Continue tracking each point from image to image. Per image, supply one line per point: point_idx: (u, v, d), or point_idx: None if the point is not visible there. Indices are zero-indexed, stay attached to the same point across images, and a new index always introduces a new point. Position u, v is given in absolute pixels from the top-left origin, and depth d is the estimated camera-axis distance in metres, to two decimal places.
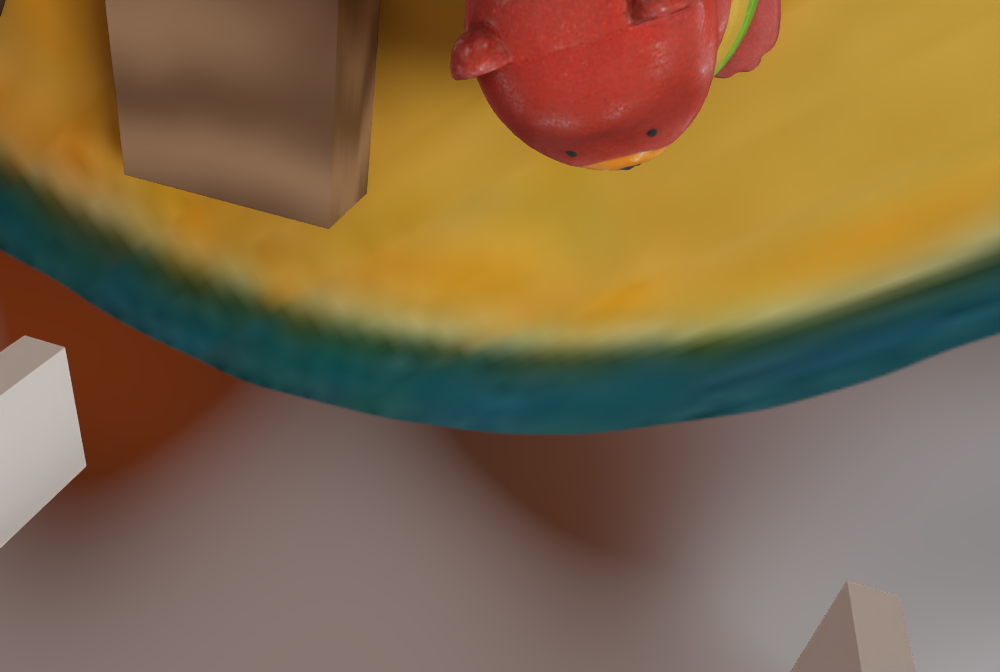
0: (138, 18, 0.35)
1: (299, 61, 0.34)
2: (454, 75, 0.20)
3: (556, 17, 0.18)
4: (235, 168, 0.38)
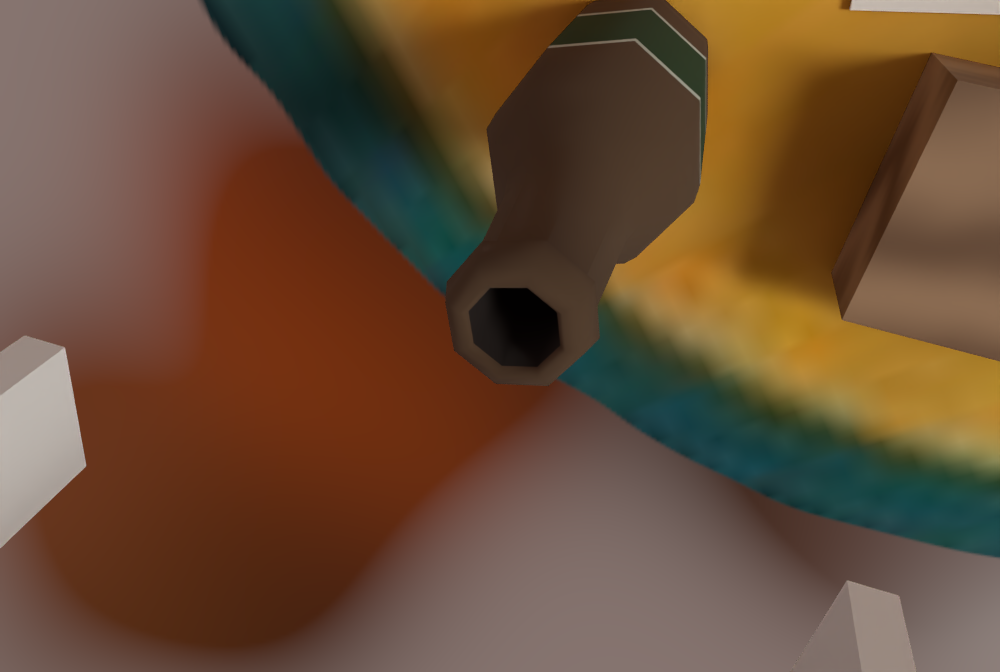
0: (960, 167, 0.31)
1: None
2: None
3: None
4: None
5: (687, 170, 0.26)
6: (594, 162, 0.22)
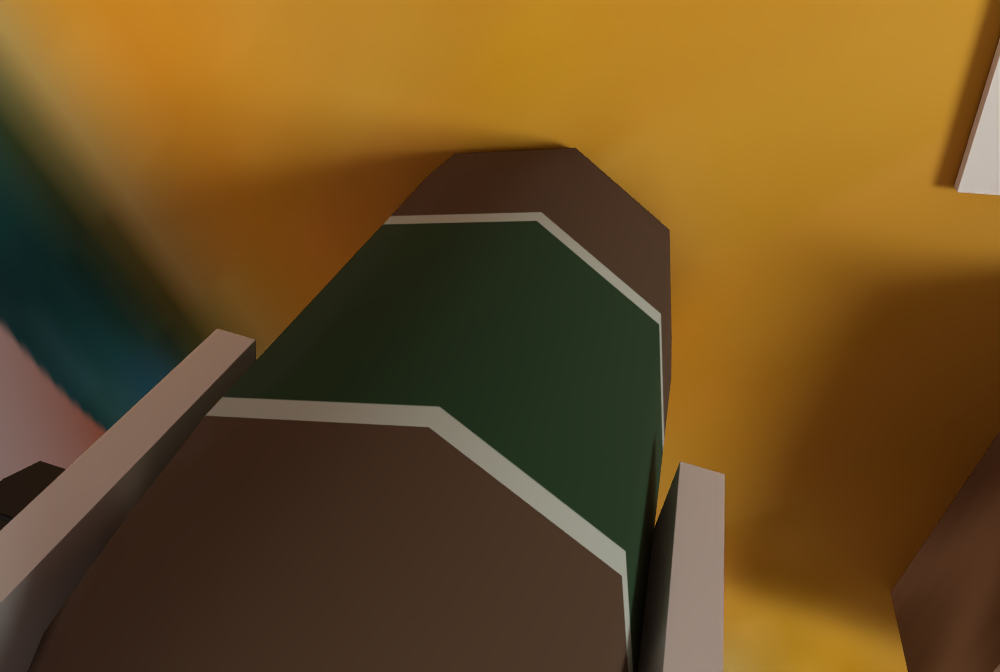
0: None
1: None
2: None
3: None
4: None
5: None
6: None
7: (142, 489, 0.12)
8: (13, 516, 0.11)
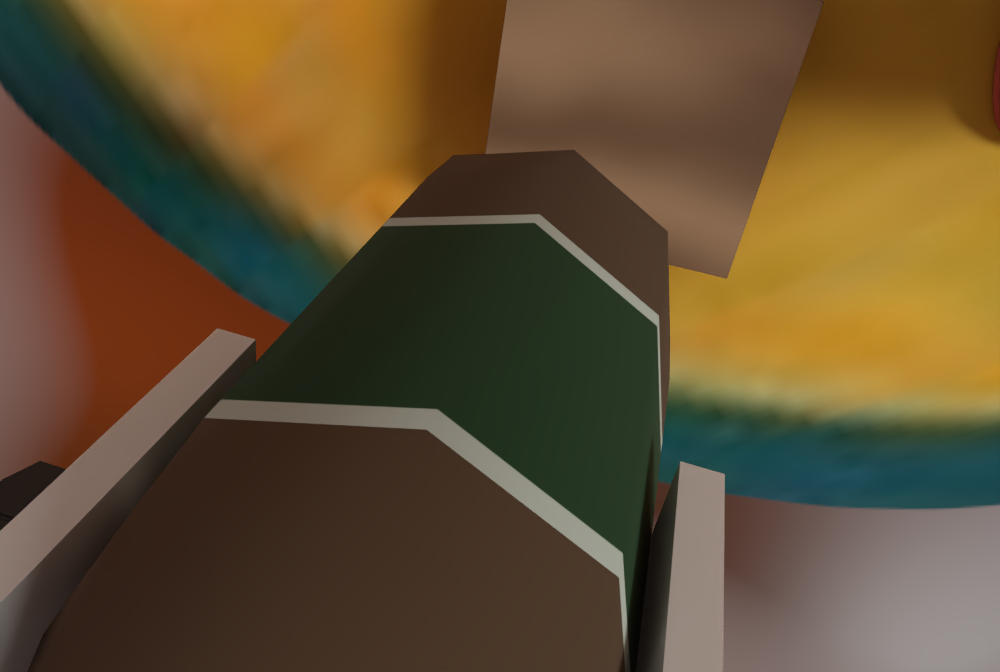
0: (542, 39, 0.30)
1: (744, 87, 0.29)
2: None
3: None
4: None
5: None
6: None
7: (142, 490, 0.12)
8: (13, 516, 0.11)
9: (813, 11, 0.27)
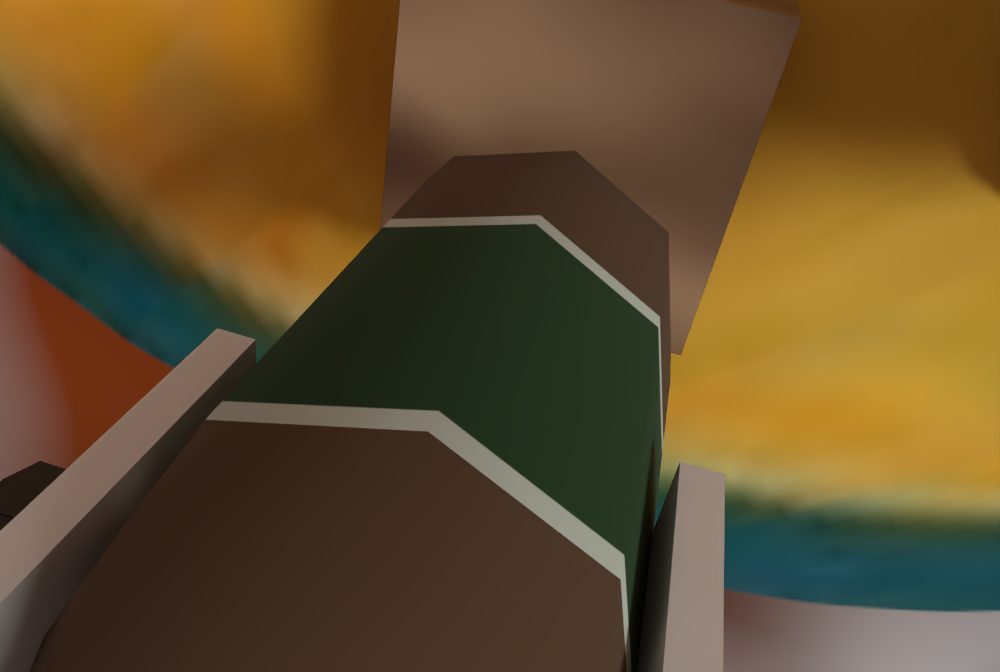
0: (446, 58, 0.23)
1: (700, 126, 0.23)
2: None
3: None
4: None
5: None
6: None
7: (142, 490, 0.12)
8: (13, 516, 0.11)
9: (788, 31, 0.21)
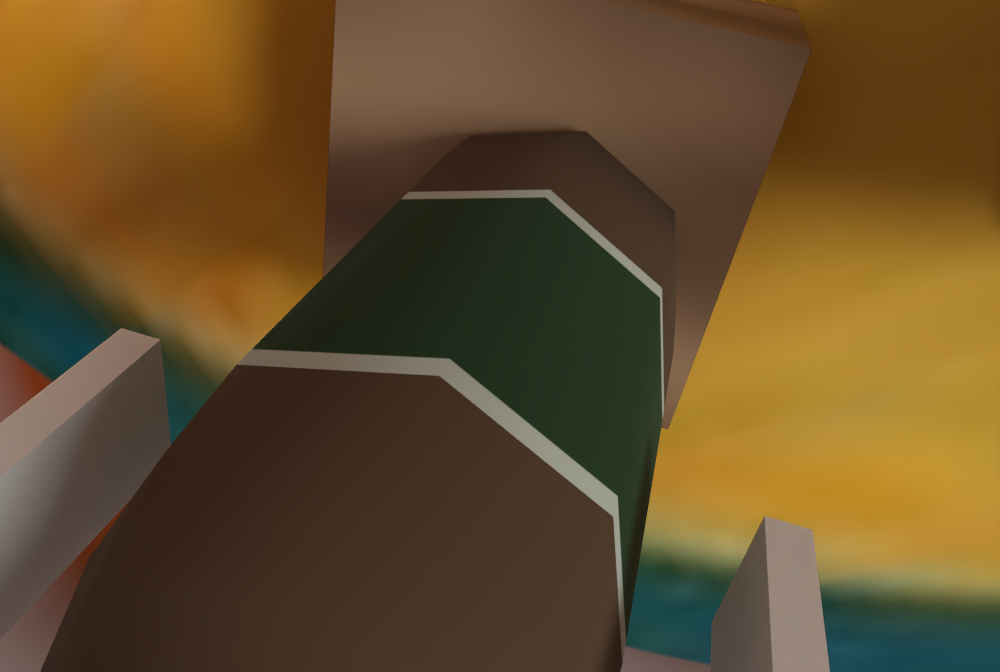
0: (390, 90, 0.20)
1: (690, 172, 0.19)
2: None
3: None
4: None
5: None
6: None
7: (20, 496, 0.11)
8: None
9: (795, 63, 0.17)
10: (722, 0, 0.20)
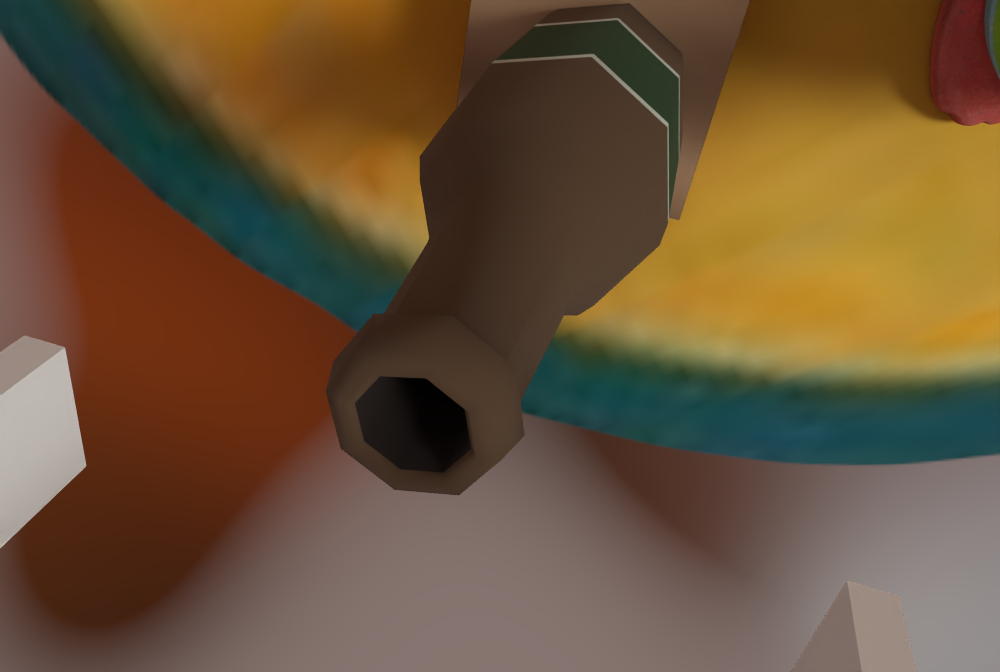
0: None
1: (693, 38, 0.32)
2: None
3: None
4: None
5: (650, 210, 0.22)
6: (534, 204, 0.18)
7: None
8: None
9: None
10: None
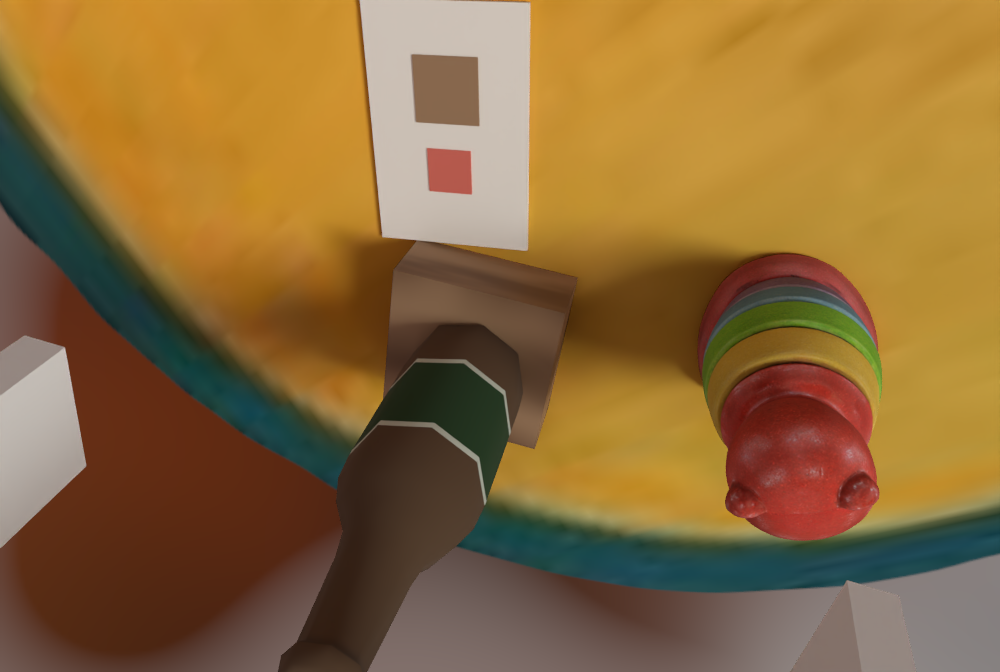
0: (413, 318, 0.50)
1: (529, 351, 0.50)
2: (730, 511, 0.36)
3: (797, 501, 0.35)
4: None
5: (463, 517, 0.39)
6: (387, 544, 0.36)
7: None
8: None
9: (560, 317, 0.48)
10: (545, 277, 0.51)
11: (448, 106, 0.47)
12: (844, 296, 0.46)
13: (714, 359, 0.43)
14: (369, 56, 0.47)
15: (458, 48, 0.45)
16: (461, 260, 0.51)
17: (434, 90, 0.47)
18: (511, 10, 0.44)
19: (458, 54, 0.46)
